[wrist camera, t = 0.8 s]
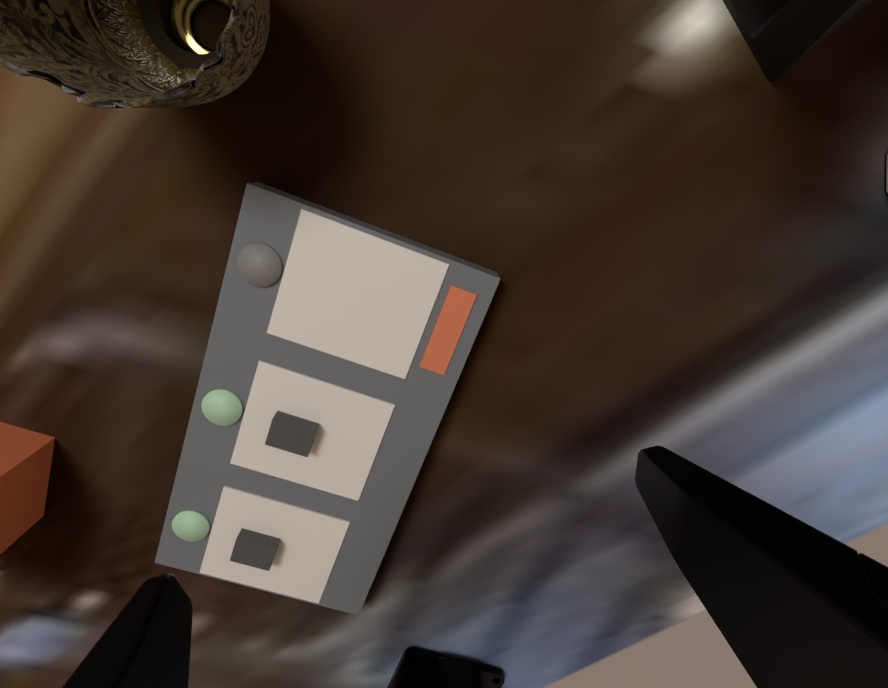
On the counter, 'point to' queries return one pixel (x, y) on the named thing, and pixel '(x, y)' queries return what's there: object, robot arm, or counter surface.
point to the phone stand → (788, 28)
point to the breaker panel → (317, 399)
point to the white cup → (887, 174)
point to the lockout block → (22, 480)
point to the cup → (132, 49)
